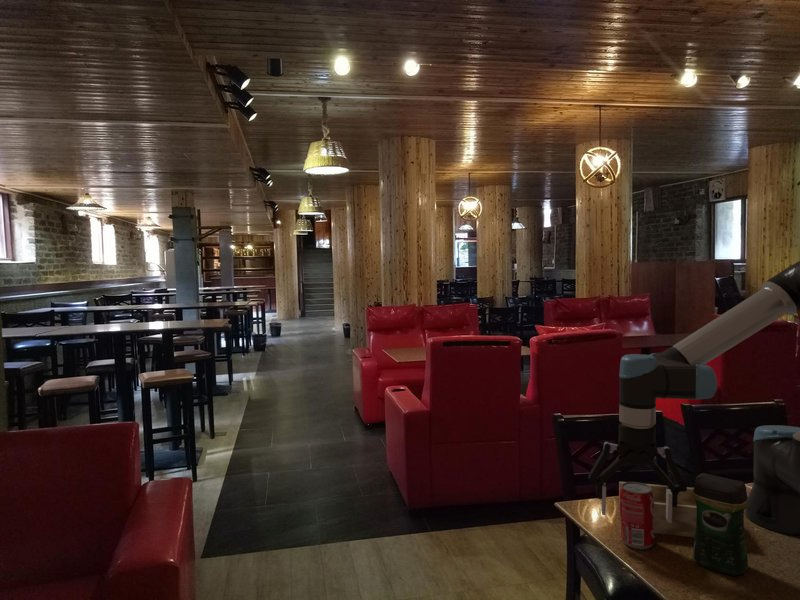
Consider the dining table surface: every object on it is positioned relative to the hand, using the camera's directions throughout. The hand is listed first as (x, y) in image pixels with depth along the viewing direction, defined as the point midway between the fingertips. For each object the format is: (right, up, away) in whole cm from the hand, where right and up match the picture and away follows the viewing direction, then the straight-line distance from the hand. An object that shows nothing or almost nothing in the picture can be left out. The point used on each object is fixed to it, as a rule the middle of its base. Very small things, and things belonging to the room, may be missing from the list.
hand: (635, 516), depth 120 cm
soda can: (0, -6, 0) cm, 6 cm away
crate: (+13, -5, +9) cm, 16 cm away
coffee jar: (+14, -7, -9) cm, 18 cm away
